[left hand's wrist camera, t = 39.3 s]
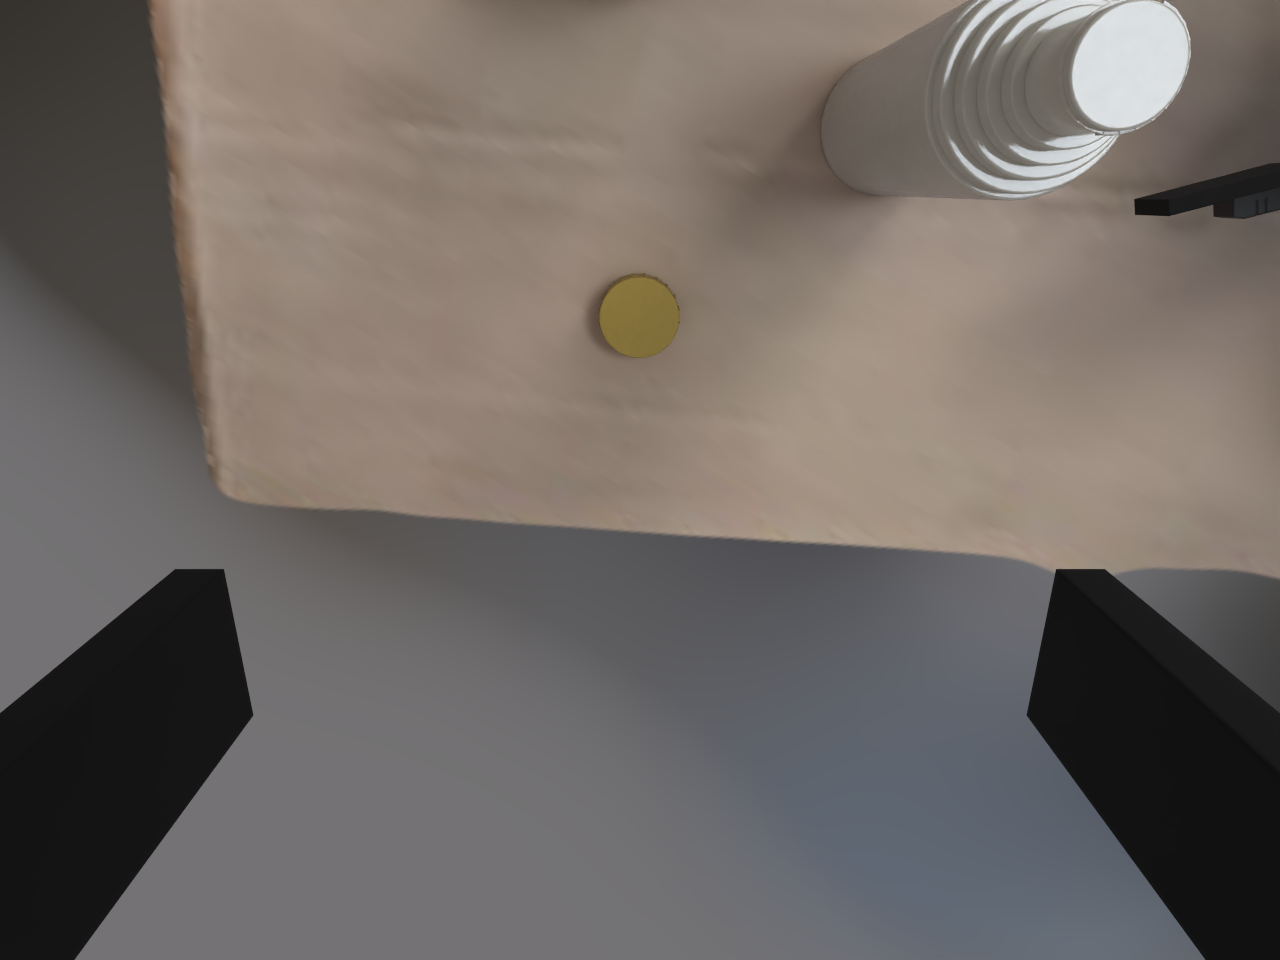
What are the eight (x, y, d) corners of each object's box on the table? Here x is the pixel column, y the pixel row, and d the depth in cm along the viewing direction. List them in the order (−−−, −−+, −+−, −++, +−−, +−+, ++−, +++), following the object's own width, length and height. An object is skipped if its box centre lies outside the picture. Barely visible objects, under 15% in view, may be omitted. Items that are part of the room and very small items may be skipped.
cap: (678, 272, 46) (679, 276, 44) (678, 351, 47) (679, 357, 45) (598, 274, 46) (597, 277, 44) (601, 352, 47) (600, 359, 45)
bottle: (899, 220, 45) (1137, 251, 23) (795, 151, 43) (945, 117, 22) (979, 100, 42) (1322, 12, 21) (872, 24, 41) (1120, -151, 20)
